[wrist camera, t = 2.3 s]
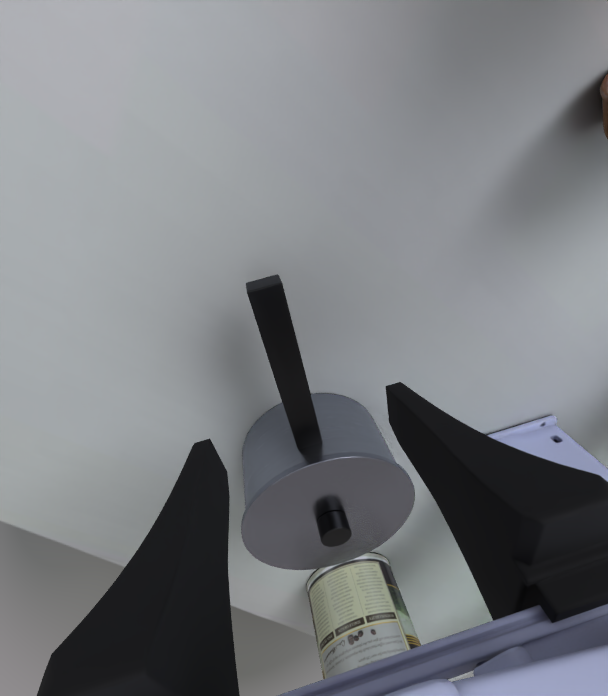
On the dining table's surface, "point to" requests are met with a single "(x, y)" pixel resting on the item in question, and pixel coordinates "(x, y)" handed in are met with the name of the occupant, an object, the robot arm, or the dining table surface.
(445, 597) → the dining table surface
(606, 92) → the tin
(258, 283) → the saucepan
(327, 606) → the coffee can
